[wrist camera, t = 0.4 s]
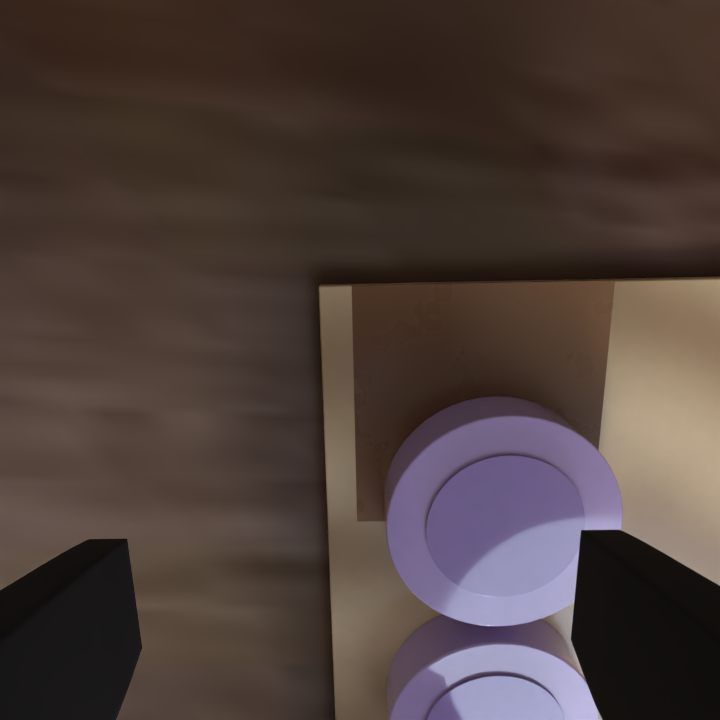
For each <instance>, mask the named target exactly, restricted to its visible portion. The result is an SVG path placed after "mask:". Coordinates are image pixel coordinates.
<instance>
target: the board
mask: <svg viewBox="0 0 720 720" xmlns="http://www.w3.org/2000/svg"><path fill="white" fill-rule="evenodd" d="M319 309H320V335H321V361H322V387H323V413H324V439H325V465H326V491H327V517H328V543H329V569H330V595H331V621H332V647H333V673H334V699H335V720H387V712H386V696H385V686H386V678H387V674H388V670H389V667H390V665H391V662H392V660H393V658H394V656H395V654H396V653H397V651H398V649H399V648H400V647H401V645H402V644H403V643H404V642H405V640H406V639H407V638H408V637H409V636H410V635H411V634H412V633H413V632H414V631H416V630H417V629H418V628H420V627H421V626H422V625H424V624H425V623H427V622H429V621H430V620H432V619H434V618H436V617H438V616H440V615H443V614H441V613H439V612H438V611H436V610H434V609H432V608H431V607H429V606H428V605H427V604H425V603H424V602H422V601H421V600H420V599H419V598H418V597H417V596H416V595H415V594H414V593H413V592H412V591H411V590H410V589H409V588H408V587H407V585H406V584H405V583H404V582H403V580H402V579H401V577H400V575H399V574H398V572H397V570H396V568H395V566H394V564H393V561H392V558H391V556H390V552H389V548H388V543H387V535H386V525H385V515H384V503H383V499H384V486H385V482H386V477H387V473H388V471H389V468H390V465H391V462H392V461H393V459H394V457H395V455H396V453H397V451H398V450H399V448H400V447H401V445H402V444H403V442H404V441H405V440H406V439H407V437H408V436H409V435H410V434H411V433H412V432H413V431H414V430H415V429H416V428H417V427H418V426H419V425H421V424H422V423H423V422H424V421H425V420H427V419H428V418H430V417H431V416H433V415H434V414H436V413H438V412H439V411H441V410H443V409H446V408H448V407H450V406H452V405H455V404H458V403H460V402H463V401H467V400H471V399H476V398H481V397H493V396H499V397H513V398H519V399H525V400H528V401H531V402H535V403H538V404H540V405H542V406H544V407H547V408H549V409H551V410H552V411H554V412H556V413H557V414H559V415H560V416H562V417H563V418H564V419H565V420H567V421H568V422H569V423H570V424H571V425H572V426H573V427H575V428H576V429H577V430H578V431H579V432H580V433H581V434H582V435H583V436H584V437H585V438H586V439H587V440H588V441H589V442H591V443H592V444H593V445H594V446H595V447H596V448H597V450H598V451H599V452H600V453H601V454H602V455H603V457H604V458H605V459H606V461H607V462H608V464H609V466H610V467H611V469H612V471H613V473H614V475H615V478H616V480H617V482H618V486H619V489H620V493H621V498H622V508H623V518H622V528H621V530H622V531H624V532H626V533H628V534H630V535H632V536H634V537H636V538H638V539H640V540H641V541H643V542H645V543H647V544H649V545H651V546H652V547H654V548H656V549H658V550H659V551H661V552H663V553H665V554H666V555H668V556H670V557H671V558H673V559H675V560H677V561H678V562H680V563H682V564H683V565H685V566H687V567H689V568H690V569H692V570H694V571H695V572H697V573H699V574H700V575H702V576H704V577H706V578H707V579H709V580H711V581H712V582H714V583H716V584H717V585H719V586H720V276H719V277H670V278H621V279H572V280H523V281H474V282H425V283H376V284H327V285H320V286H319ZM573 610H574V602H573V603H571V604H570V605H568V606H567V607H565V608H563V609H561V610H560V611H558V612H556V613H554V614H551V615H549V616H547V617H544V618H542V620H544V621H545V622H547V623H548V624H549V625H551V626H552V627H553V628H555V629H556V630H557V631H558V632H559V633H560V634H561V635H562V636H563V637H564V639H565V640H566V642H567V643H568V644H569V646H570V648H571V650H572V652H573V654H574V656H575V658H576V660H577V661H578V658H577V655H576V653H575V650H574V647H573V644H572V641H571V631H572V621H573ZM578 663H579V661H578ZM579 665H580V664H579ZM580 667H581V666H580ZM598 713H599V712H598ZM599 720H602V718H601V716H600V714H599Z"/></svg>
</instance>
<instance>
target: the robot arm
mask: <svg viewBox="0 0 720 720" xmlns="http://www.w3.org/2000/svg"><path fill="white" fill-rule="evenodd" d="M571 641H572V644H573V647H574V650H575V653H576V655H577V658H578V661H579V664H580V666H581V669H582V672H583V675H584V677H585V680H586V682H587V685H588V687H589V690H590V693H591V695H592V698H593V700H594V703H595V705H596V708H597V710H598V712H599V714H600V716H601V718H602V720H720V586H719V585H717V584H716V583H714V582H712V581H711V580H709V579H707V578H706V577H704V576H702V575H700V574H699V573H697V572H695V571H694V570H692V569H690V568H689V567H687V566H685V565H683V564H682V563H680V562H678V561H677V560H675V559H673V558H671V557H670V556H668V555H666V554H665V553H663V552H661V551H659V550H658V549H656V548H654V547H652V546H651V545H649V544H647V543H645V542H643V541H641V540H640V539H638V538H636V537H634V536H632V535H630V534H628V533H626V532H624V531H622V530H581V536H580V547H579V557H578V568H577V578H576V589H575V600H574V610H573V621H572V631H571ZM141 649H142V644H141V637H140V629H139V622H138V615H137V608H136V600H135V593H134V586H133V579H132V571H131V564H130V557H129V550H128V542H127V539H89V540H87V541H85V542H83V543H81V544H79V545H76V546H75V547H73V548H71V549H69V550H67V551H66V552H64V553H62V554H60V555H59V556H57V557H55V558H53V559H52V560H50V561H48V562H47V563H45V564H43V565H42V566H40V567H38V568H37V569H35V570H33V571H32V572H30V573H28V574H27V575H25V576H24V577H22V578H20V579H19V580H17V581H15V582H14V583H12V584H11V585H9V586H7V587H6V588H4V589H2V590H1V591H0V720H116V718H117V716H118V713H119V711H120V708H121V705H122V703H123V700H124V697H125V695H126V692H127V689H128V687H129V684H130V681H131V678H132V675H133V672H134V669H135V667H136V664H137V661H138V658H139V655H140V652H141Z"/></svg>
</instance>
